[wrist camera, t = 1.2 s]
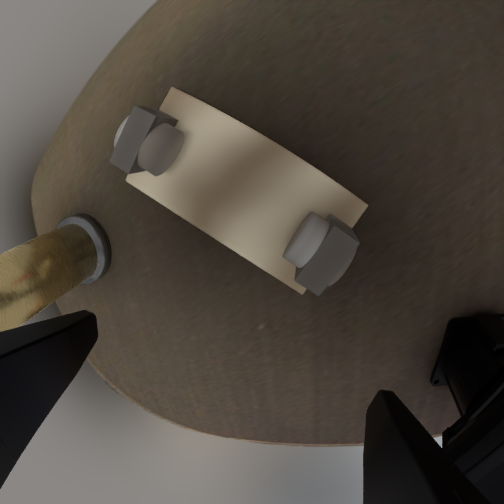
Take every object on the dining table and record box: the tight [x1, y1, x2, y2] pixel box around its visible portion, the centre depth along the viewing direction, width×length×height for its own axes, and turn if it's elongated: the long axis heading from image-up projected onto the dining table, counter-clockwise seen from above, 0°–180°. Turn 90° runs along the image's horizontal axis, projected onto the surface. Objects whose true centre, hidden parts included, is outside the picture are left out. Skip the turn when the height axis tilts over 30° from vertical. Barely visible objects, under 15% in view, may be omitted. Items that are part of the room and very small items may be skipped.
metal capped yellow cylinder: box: [0, 214, 111, 332], centre depth 16 cm, size 6×6×13 cm
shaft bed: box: [109, 87, 368, 296], centre depth 17 cm, size 15×7×4 cm, turn 59°
